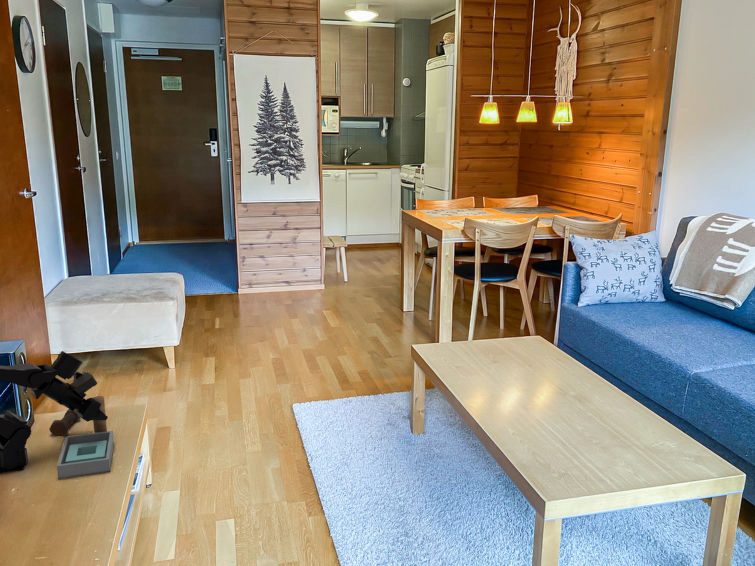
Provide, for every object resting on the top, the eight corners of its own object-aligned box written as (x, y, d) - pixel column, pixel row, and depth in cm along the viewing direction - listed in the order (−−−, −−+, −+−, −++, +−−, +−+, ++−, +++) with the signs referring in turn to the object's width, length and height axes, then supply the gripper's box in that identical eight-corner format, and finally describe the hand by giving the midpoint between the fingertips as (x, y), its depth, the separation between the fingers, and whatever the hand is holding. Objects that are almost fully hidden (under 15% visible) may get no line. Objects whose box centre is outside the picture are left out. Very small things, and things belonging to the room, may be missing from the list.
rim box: (58, 479, 169) (56, 466, 168) (67, 448, 185) (65, 436, 184) (109, 472, 173) (108, 459, 172) (113, 442, 189) (112, 430, 188)
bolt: (81, 421, 207) (61, 440, 193) (67, 414, 207) (46, 433, 192) (88, 406, 207) (70, 425, 192) (74, 399, 206) (54, 418, 191)
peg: (94, 440, 190) (90, 401, 187) (95, 435, 194) (91, 396, 191) (106, 438, 192) (103, 400, 189) (107, 433, 195) (104, 395, 192)
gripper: (91, 376, 177) (130, 400, 188) (64, 360, 189) (102, 383, 200) (65, 410, 173) (107, 432, 184) (39, 391, 185) (80, 413, 196)
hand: (99, 414), depth 191 cm, fingers open, 9 cm apart
